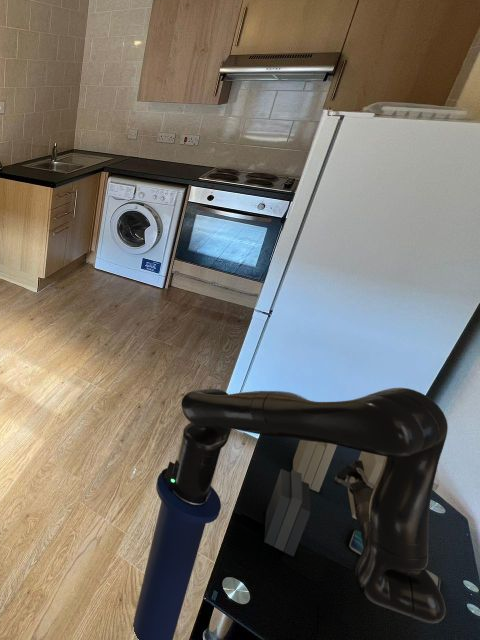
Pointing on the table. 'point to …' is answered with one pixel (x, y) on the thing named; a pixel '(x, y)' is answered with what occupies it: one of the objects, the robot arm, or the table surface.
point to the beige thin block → (368, 472)
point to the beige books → (313, 462)
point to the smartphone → (358, 548)
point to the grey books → (287, 512)
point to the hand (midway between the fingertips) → (368, 467)
